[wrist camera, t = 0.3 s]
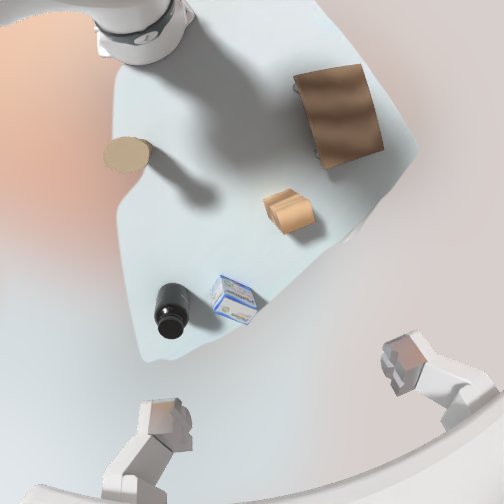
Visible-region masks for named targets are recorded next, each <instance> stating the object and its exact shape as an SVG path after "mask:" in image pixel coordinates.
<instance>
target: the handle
mask: <svg viewBox="0 0 504 504" xmlns="http://www.w3.org/2000/svg"><path fill="white" fill-rule="evenodd" d="M151 151H152V145H151V144H150V143H149V142H148V141H147V140H144V139H138V138H135V137H120V138H117V139H114V140H112V141H110V142H108V144H107V145H106V147H105V150H104V162H105V165H106V166H107V167H109V168H110V169H112V170H114V171H116V172H120V173H133V172H136V171H139V170H141V169H144V168H145V167H146V165H147V164H148V161H149V158H150V154H151Z"/></svg>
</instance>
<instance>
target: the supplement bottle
mask: <svg viewBox="0 0 504 504" xmlns="http://www.w3.org/2000/svg"><path fill="white" fill-rule="evenodd" d="M154 318H155V322H156V324H157V325H158V331H159V333H160V334H161V335H162V336H163V337H164V338H167V339H176V338H178V337H180V336H181V335H182V334H183V330H184V328H185V327H186V325H187V323H188V320H189V298H188V293H187V291H186V289H185V288H184V287H183V286H181V285H179V284H176V283H169V284H166V285H164V286H162V287H161V288H160V290H159V292H158V295H157V301H156V307H155V314H154Z"/></svg>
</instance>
